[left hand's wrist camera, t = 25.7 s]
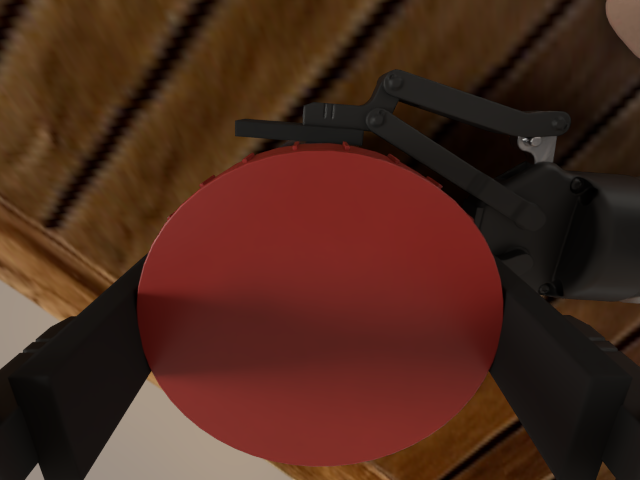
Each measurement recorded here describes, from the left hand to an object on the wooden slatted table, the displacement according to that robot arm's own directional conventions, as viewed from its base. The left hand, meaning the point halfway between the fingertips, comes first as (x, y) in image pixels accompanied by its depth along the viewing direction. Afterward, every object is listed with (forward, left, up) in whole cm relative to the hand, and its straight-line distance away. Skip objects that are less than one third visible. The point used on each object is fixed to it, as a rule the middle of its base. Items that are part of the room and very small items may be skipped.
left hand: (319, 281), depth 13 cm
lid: (0, 0, +3) cm, 3 cm away
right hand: (+3, -4, -9) cm, 10 cm away
